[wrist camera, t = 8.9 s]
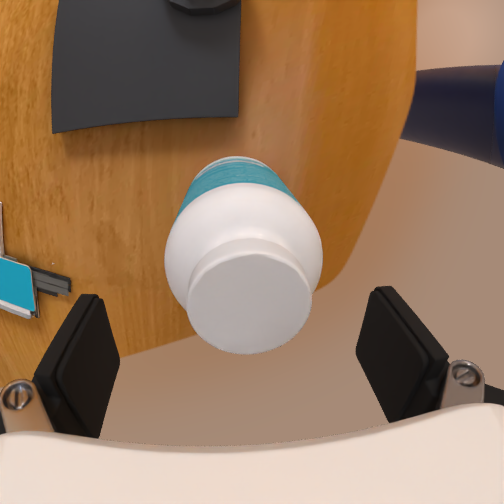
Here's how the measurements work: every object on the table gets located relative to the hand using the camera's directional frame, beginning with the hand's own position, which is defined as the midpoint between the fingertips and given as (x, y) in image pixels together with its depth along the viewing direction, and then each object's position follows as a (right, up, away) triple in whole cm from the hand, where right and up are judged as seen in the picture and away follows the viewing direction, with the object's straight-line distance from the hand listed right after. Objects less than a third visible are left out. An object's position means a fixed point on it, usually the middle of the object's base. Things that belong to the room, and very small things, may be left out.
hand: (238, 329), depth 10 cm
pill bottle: (-1, +6, +13) cm, 15 cm away
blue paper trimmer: (-26, +2, +13) cm, 29 cm away
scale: (-7, +18, +7) cm, 21 cm away
